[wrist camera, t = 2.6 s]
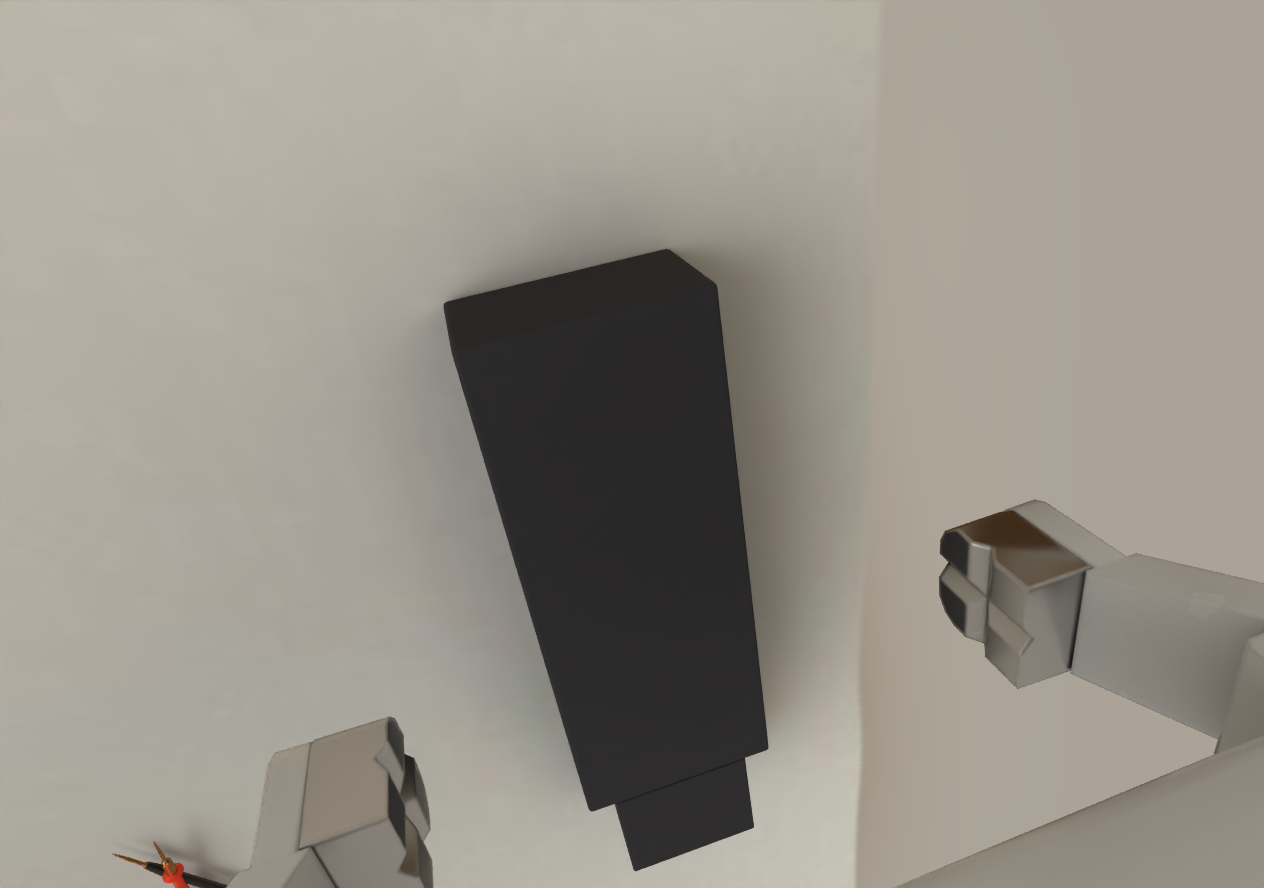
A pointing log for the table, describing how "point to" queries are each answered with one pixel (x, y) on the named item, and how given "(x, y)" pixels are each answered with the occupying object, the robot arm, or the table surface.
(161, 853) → the multimeter
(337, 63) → the table surface
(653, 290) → the inserted plug
